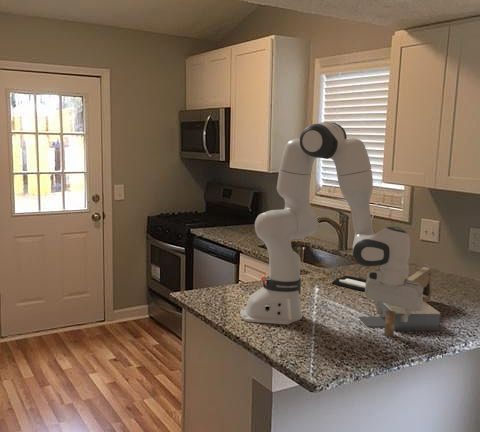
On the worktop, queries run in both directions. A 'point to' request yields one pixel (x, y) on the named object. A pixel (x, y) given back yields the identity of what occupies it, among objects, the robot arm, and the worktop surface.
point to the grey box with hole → (414, 318)
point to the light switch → (351, 283)
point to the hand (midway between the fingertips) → (391, 317)
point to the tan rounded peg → (389, 323)
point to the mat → (373, 321)
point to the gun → (423, 282)
